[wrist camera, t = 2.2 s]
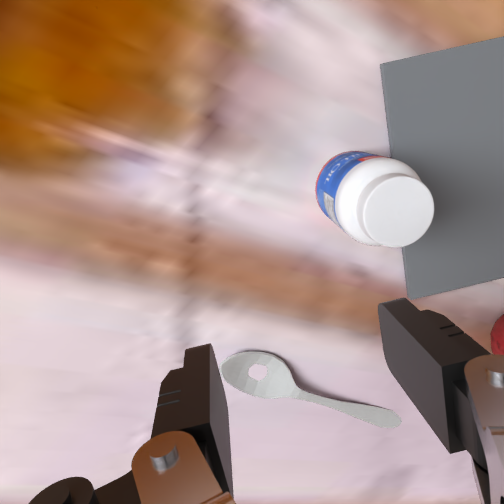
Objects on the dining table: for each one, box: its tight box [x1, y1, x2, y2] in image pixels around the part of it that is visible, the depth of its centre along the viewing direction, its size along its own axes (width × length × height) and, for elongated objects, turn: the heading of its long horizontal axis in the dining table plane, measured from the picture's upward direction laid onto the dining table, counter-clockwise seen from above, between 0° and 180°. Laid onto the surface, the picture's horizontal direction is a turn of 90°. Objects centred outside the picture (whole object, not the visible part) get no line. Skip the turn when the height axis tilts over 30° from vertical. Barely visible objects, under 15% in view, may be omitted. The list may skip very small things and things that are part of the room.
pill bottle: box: [315, 151, 434, 248], centre depth 29 cm, size 6×5×10 cm
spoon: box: [220, 351, 402, 428], centre depth 38 cm, size 4×21×2 cm, turn 65°
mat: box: [380, 37, 504, 300], centre depth 34 cm, size 18×11×1 cm, turn 12°
